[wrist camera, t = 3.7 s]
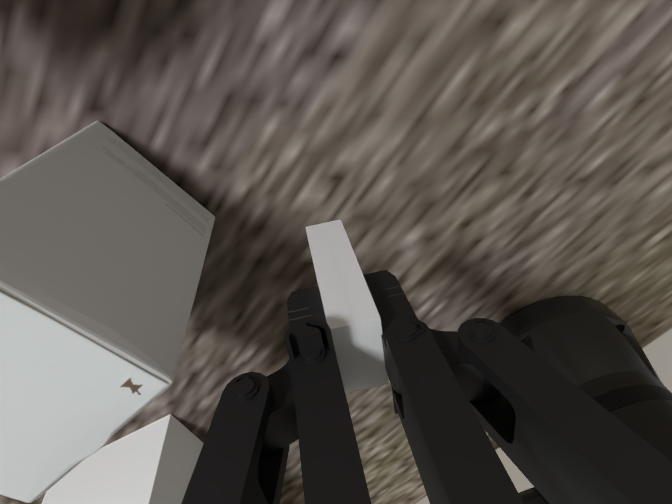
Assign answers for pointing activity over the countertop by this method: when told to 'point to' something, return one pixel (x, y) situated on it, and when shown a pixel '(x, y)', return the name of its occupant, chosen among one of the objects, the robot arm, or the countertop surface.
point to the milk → (134, 469)
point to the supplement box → (88, 300)
